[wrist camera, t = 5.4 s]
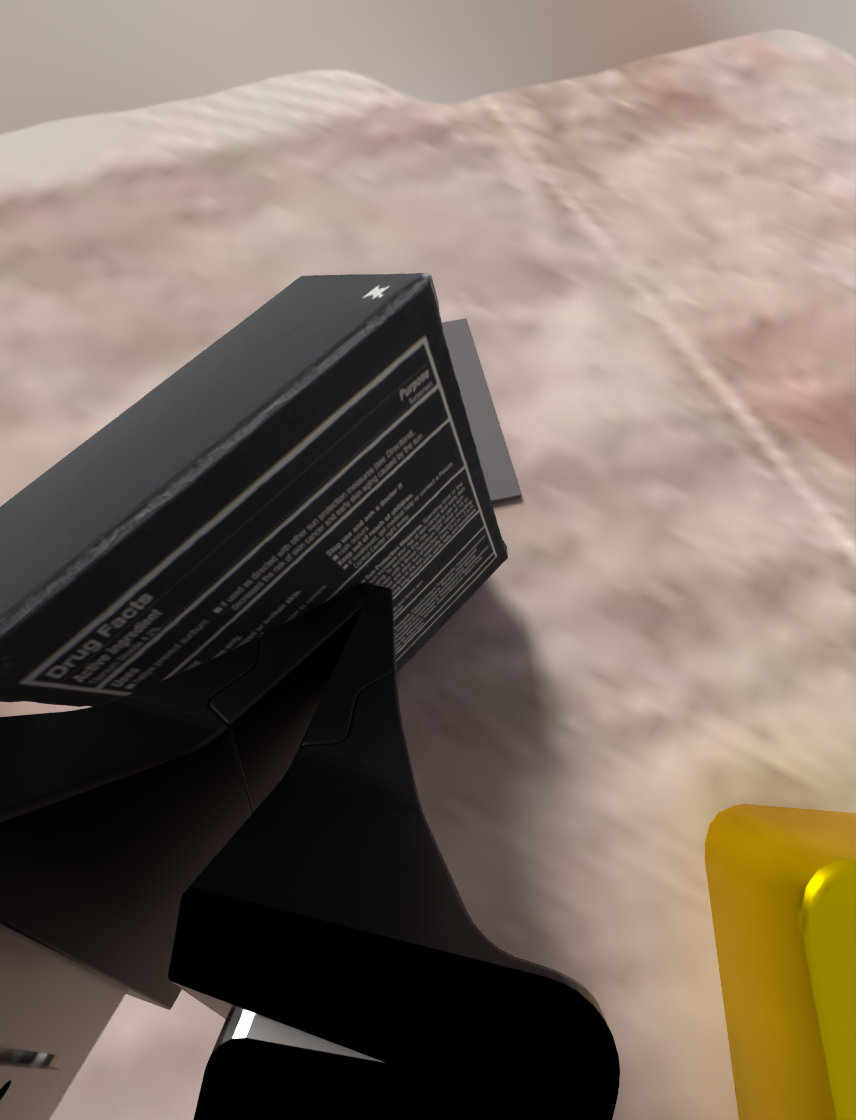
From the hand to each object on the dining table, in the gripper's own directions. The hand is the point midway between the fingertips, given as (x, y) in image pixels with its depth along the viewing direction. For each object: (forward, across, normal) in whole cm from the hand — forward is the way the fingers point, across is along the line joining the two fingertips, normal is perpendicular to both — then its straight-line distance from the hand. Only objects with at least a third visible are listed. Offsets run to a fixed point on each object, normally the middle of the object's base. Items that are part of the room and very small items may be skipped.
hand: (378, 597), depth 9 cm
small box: (+5, +1, +4) cm, 6 cm away
